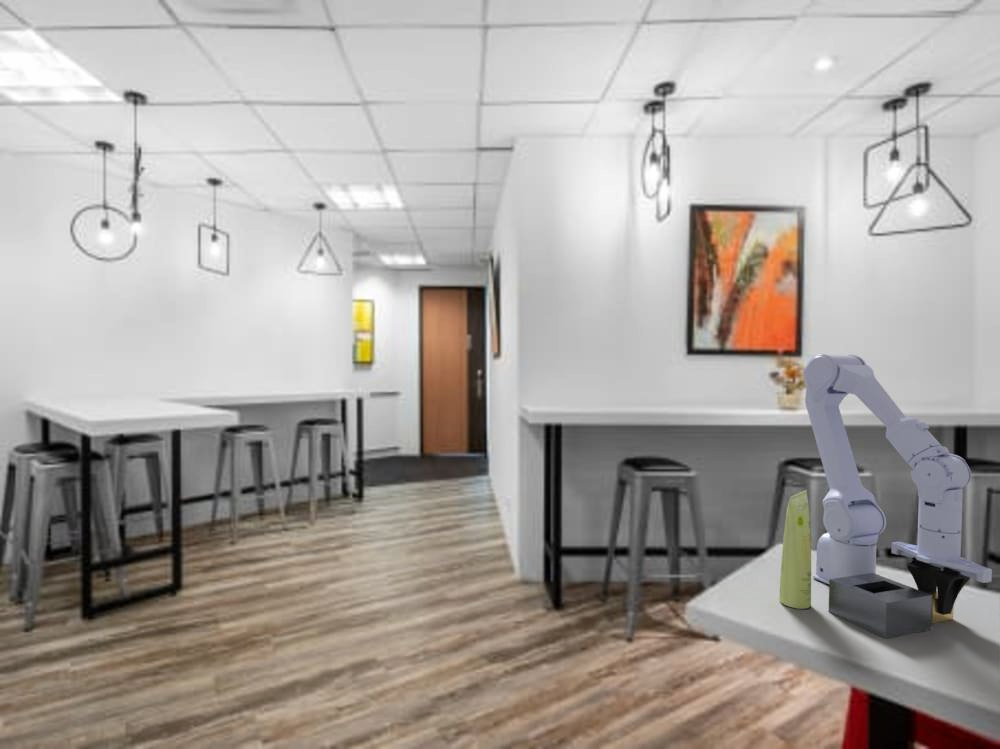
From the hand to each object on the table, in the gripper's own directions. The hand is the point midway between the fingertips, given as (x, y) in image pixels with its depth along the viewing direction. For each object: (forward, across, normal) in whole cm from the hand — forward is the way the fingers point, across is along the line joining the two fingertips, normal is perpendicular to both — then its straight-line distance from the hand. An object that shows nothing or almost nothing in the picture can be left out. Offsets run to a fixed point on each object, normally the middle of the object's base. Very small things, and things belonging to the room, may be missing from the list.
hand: (936, 610), depth 95 cm
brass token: (+1, 0, 0) cm, 1 cm away
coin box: (+1, -2, -10) cm, 10 cm away
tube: (+2, -12, -18) cm, 22 cm away
